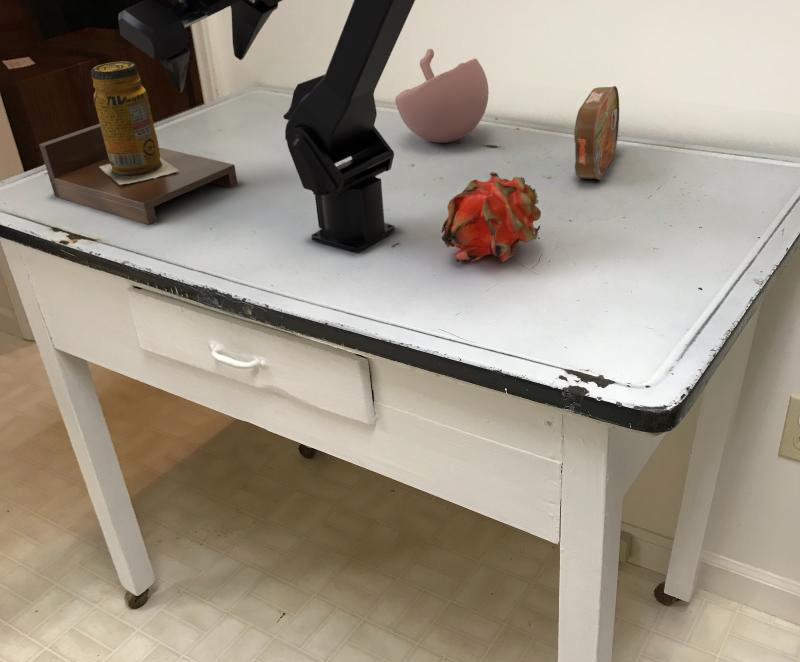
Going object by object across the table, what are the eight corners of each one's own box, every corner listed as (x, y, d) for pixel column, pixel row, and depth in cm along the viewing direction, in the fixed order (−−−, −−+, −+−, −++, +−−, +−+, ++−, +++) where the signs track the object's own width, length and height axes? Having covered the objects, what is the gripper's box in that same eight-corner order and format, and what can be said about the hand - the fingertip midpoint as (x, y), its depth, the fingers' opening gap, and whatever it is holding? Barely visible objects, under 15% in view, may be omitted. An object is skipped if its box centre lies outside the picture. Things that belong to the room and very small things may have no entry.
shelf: (238, 184, 105) (228, 131, 101) (148, 224, 96) (135, 168, 92) (143, 161, 114) (132, 112, 111) (54, 196, 106) (38, 144, 102)
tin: (595, 190, 96) (600, 115, 92) (567, 188, 97) (571, 113, 93) (619, 147, 108) (625, 77, 103) (594, 145, 109) (598, 76, 104)
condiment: (155, 154, 108) (133, 55, 102) (179, 172, 102) (157, 68, 96) (99, 168, 105) (71, 67, 99) (120, 187, 99) (92, 81, 93)
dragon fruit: (542, 250, 88) (457, 305, 83) (490, 189, 89) (404, 239, 85) (577, 203, 80) (485, 260, 76) (519, 137, 82) (426, 189, 77)
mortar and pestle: (431, 121, 121) (428, 35, 114) (505, 133, 115) (506, 43, 108) (380, 147, 113) (374, 56, 107) (457, 161, 107) (454, 66, 100)
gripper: (216, -127, 90) (219, 9, 103) (70, -72, 81) (93, 70, 94) (293, -79, 87) (286, 55, 100) (151, -16, 78) (164, 123, 91)
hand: (209, 73), depth 96 cm, fingers open, 9 cm apart
